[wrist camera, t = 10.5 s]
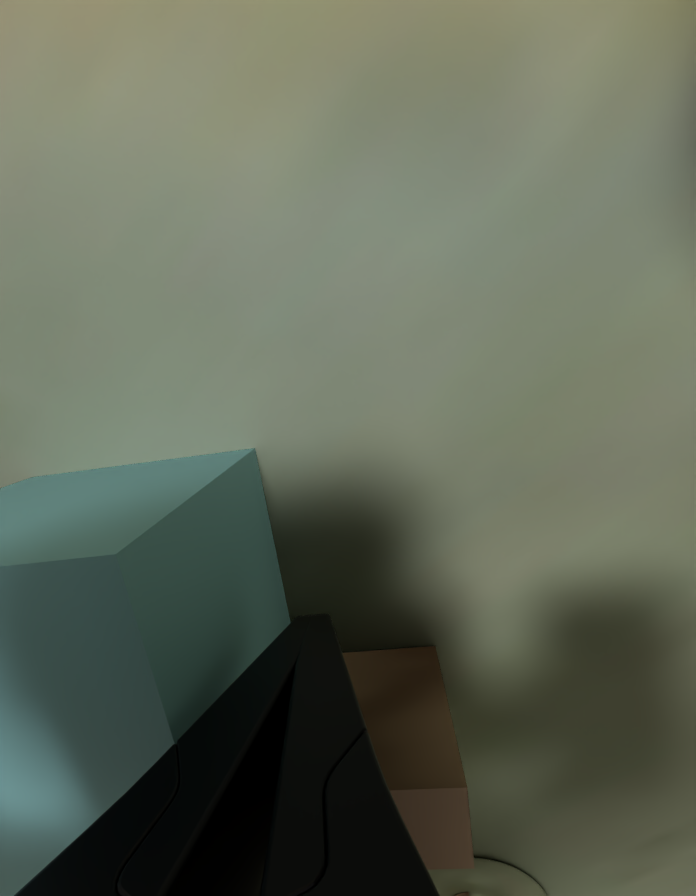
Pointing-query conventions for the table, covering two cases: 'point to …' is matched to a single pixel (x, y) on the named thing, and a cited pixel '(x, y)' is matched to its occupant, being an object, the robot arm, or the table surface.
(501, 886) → the beer glass
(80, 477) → the teal block
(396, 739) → the corner board
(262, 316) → the table surface
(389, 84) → the table surface
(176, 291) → the table surface
